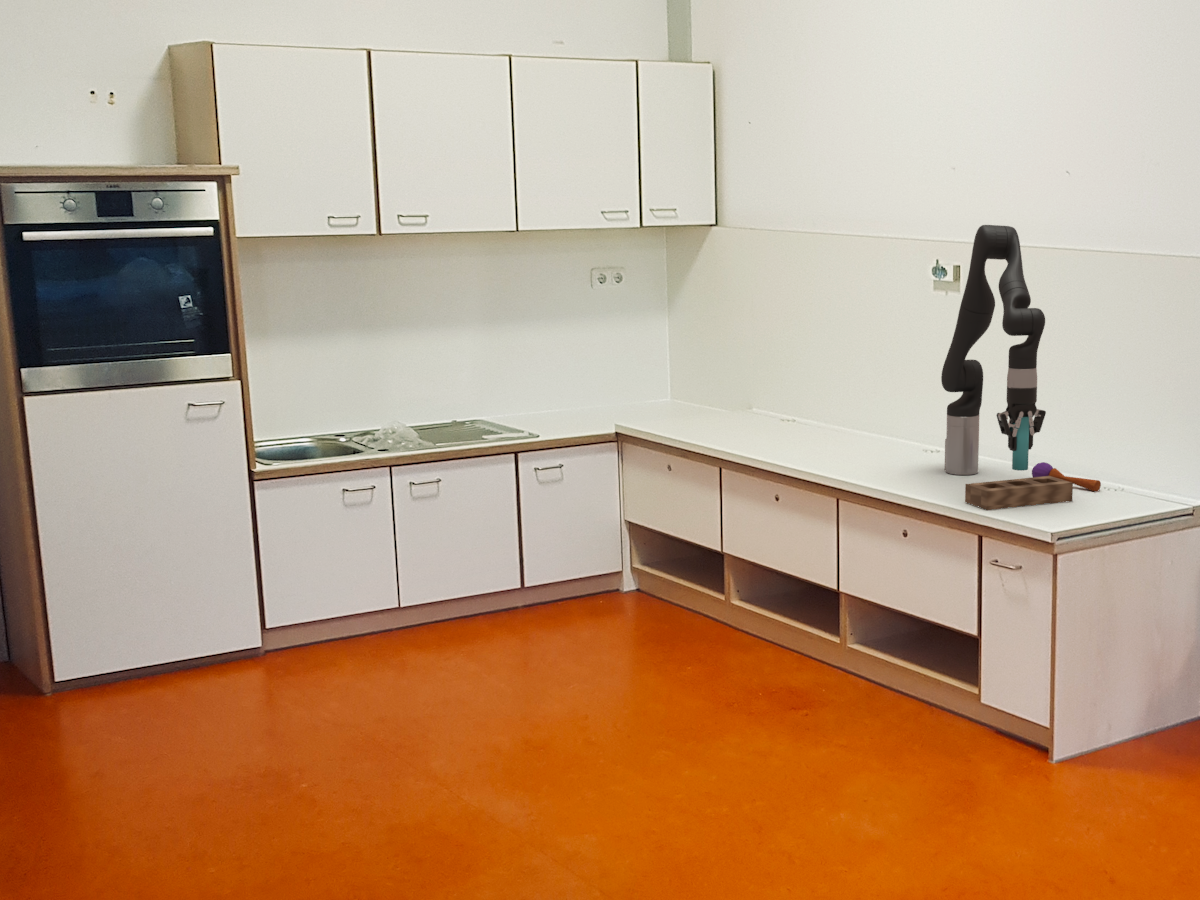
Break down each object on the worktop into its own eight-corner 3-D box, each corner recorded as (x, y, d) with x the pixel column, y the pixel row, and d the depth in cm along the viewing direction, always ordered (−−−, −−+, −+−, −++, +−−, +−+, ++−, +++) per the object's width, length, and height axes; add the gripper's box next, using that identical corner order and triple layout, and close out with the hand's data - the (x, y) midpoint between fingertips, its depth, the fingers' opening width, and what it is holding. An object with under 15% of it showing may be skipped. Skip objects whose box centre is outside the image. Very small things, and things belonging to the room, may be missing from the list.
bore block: (986, 510, 346) (986, 491, 345) (965, 502, 355) (965, 484, 354) (1072, 501, 353) (1072, 482, 352) (1049, 493, 363) (1049, 475, 362)
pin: (1009, 468, 354) (1010, 416, 351) (1022, 467, 355) (1023, 415, 353) (1017, 470, 350) (1019, 418, 348) (1031, 469, 351) (1032, 417, 349)
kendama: (1090, 479, 361) (1027, 464, 377) (1090, 500, 363) (1027, 483, 379) (1103, 472, 365) (1040, 457, 380) (1103, 492, 367) (1040, 476, 382)
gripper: (1036, 381, 354) (1034, 445, 357) (990, 385, 350) (988, 449, 353) (1054, 384, 347) (1052, 449, 350) (1006, 388, 343) (1005, 454, 346)
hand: (1020, 449), depth 352 cm, fingers closed on pin, 4 cm apart
